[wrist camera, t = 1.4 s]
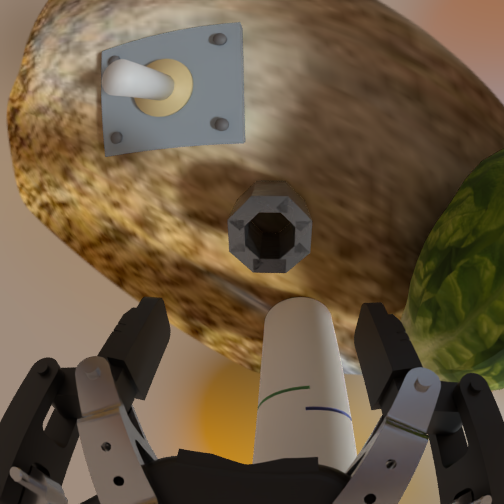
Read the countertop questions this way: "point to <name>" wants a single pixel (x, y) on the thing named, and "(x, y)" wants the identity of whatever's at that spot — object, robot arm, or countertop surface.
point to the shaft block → (174, 90)
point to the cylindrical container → (303, 388)
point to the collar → (270, 243)
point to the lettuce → (463, 283)
